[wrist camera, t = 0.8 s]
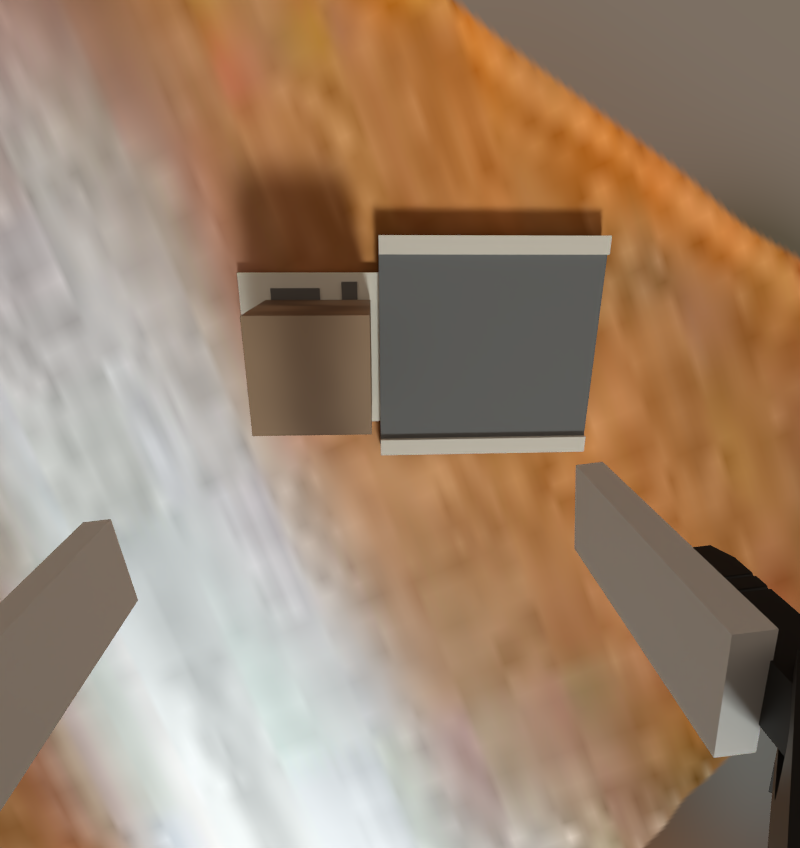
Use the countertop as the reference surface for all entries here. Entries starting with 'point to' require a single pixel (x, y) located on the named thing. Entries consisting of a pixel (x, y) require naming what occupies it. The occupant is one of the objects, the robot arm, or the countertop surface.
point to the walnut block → (309, 367)
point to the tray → (487, 341)
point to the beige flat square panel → (319, 288)
